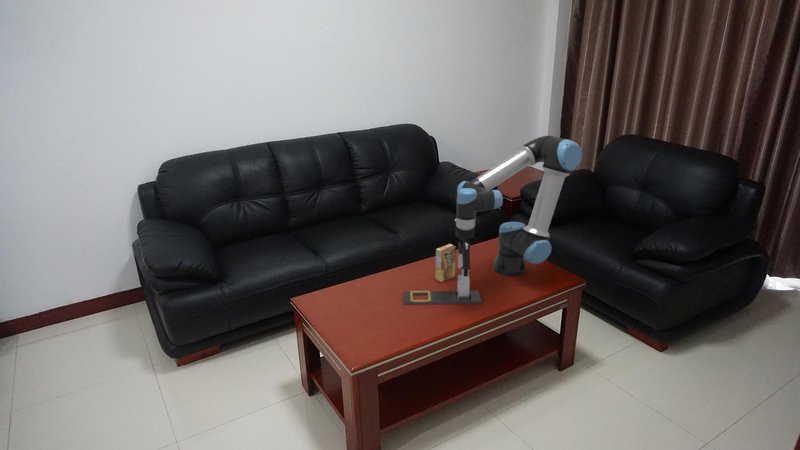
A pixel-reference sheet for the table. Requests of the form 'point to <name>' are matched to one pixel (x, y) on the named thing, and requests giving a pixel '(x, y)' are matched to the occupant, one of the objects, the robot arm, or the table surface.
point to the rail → (440, 297)
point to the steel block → (462, 289)
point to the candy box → (445, 262)
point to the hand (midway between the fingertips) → (462, 275)
